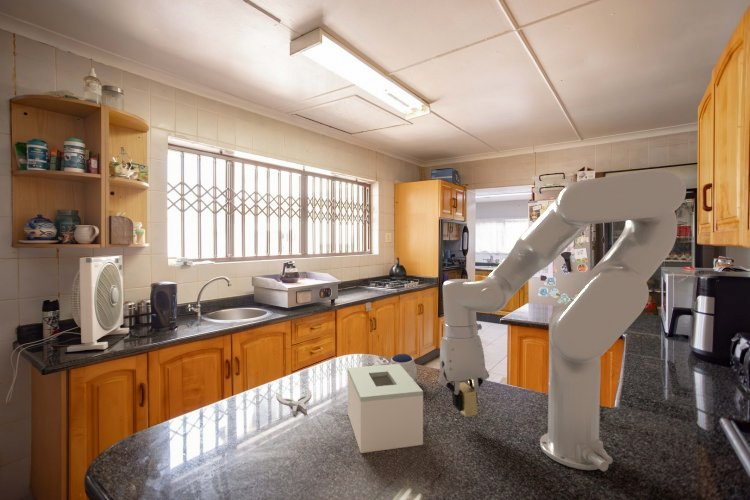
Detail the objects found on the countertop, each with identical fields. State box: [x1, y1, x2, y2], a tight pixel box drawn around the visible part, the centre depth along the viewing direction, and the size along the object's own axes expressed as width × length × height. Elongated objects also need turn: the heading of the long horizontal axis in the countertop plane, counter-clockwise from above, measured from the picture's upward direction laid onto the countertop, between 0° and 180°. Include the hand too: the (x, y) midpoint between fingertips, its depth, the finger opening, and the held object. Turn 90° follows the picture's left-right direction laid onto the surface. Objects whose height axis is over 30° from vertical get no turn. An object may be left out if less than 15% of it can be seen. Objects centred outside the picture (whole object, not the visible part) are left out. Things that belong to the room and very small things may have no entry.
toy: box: [366, 353, 418, 381], centre depth 111 cm, size 18×9×20 cm
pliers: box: [275, 388, 312, 416], centre depth 101 cm, size 10×2×15 cm
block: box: [459, 381, 478, 418], centre depth 87 cm, size 6×3×6 cm, turn 13°
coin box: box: [347, 364, 424, 454], centre depth 87 cm, size 18×14×12 cm
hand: (465, 406), depth 87 cm, fingers closed on block, 3 cm apart
